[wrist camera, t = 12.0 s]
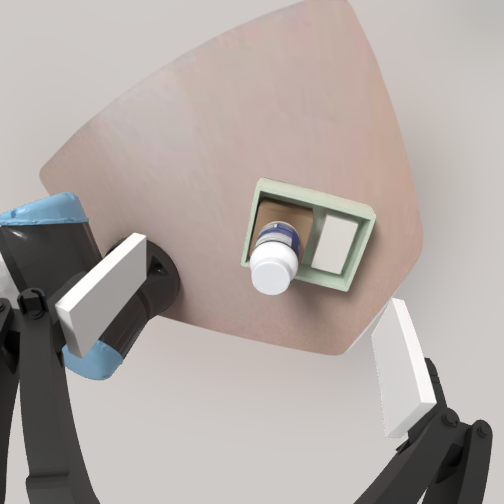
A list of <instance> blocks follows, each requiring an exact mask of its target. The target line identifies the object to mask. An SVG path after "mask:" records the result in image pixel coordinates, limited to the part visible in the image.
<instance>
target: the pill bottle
mask: <svg viewBox="0 0 504 504" xmlns="http://www.w3.org/2000/svg"><path fill="white" fill-rule="evenodd" d="M299 247H300V239H299V235H298V233H297V231H296V229H295V228H294V227H293V226H291V225H290V224H288V223H285V222H281V221H275V222H271V223H269V224H267V225H265V226H264V227H263V228H262V230H261V231H260V233H259V236H258V239H257V242H256V244H255V247H254V250H253V252H252V255H251V258H250V270H251V272H252V283H253V285H254V286H255V288H256V289H257V290H258V291H260V292H261V293H264V294H267V295H277V294H280V293H282V292H284V291H285V290H286V289H287V288H288V286H289V284H290V281H291V280H292V279H293V278H294V277H295V275H296V273H297V270H298V261H299Z"/></svg>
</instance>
